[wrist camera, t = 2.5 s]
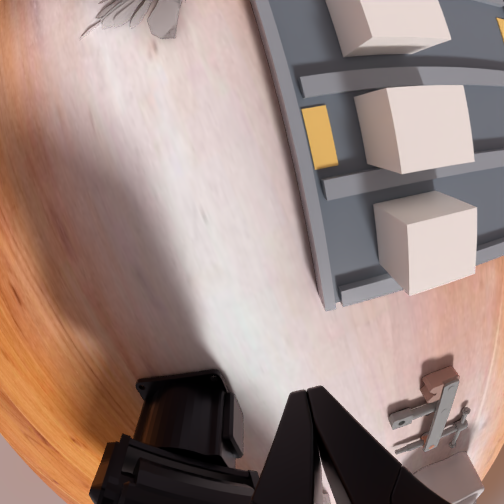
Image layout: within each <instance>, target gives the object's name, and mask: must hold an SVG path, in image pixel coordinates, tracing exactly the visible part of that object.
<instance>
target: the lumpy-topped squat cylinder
mask: <svg viewBox="0 0 504 504" xmlns="http://www.w3.org/2000/svg"><path fill="white" fill-rule="evenodd" d="M413 475H414V476H415V477H416V478H417V479H419V480H420V481H421V482H422V483H423V484H424V485H426V486H427V487H428V488H429V489H431V490H432V491H434V492H435V493H436V494H438V495H439V496H441V497H442V498H443V499H445V500H447V501H448V502H450V503H451V504H476V499H477V498H478V496H480V494H481V493H482V492H483V491H484V486H483V484H482V482H481V480H480V478H479V476H478V474H477V472H476V470H475V468H474V466H473V464H472V462H471V460H470V459H469V457H468V455H467V453H466V452H464V451H463V452H459V453H457V454H455V455H453V456H451V457H449V458H447V459H445V460H442V461H440V462H437V463H434V464H431V465H428V466H426V467H424V468H422V469H420V470H419V471H417V472H415V473H414V474H413Z"/></svg>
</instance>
